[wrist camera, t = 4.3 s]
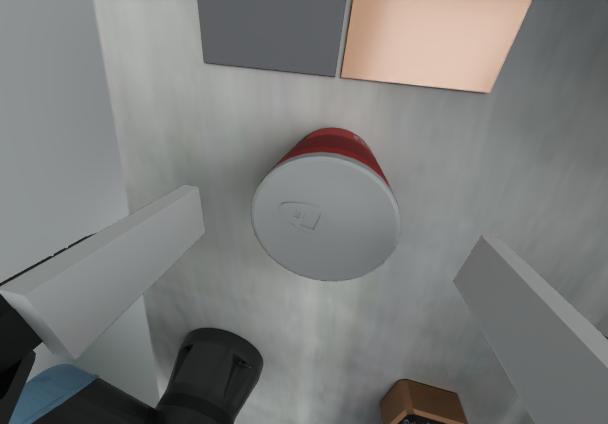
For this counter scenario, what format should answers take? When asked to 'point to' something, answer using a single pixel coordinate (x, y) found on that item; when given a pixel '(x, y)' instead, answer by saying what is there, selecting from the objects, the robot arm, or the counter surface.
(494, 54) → the terracotta tile
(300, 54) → the charcoal mat
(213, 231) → the counter surface
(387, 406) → the whiskey bottle
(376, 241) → the canned food
